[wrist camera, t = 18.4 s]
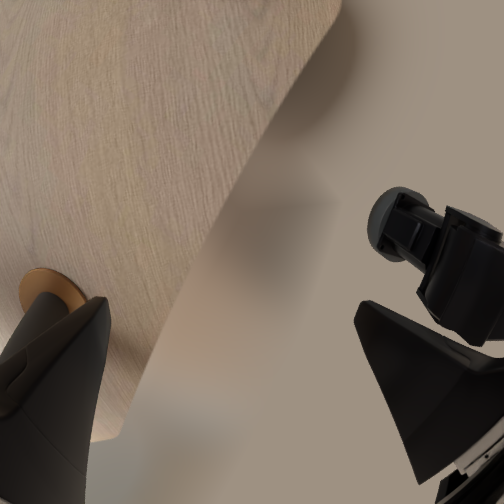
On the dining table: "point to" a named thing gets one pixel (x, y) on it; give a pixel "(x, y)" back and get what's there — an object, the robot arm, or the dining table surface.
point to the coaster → (49, 288)
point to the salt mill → (35, 322)
